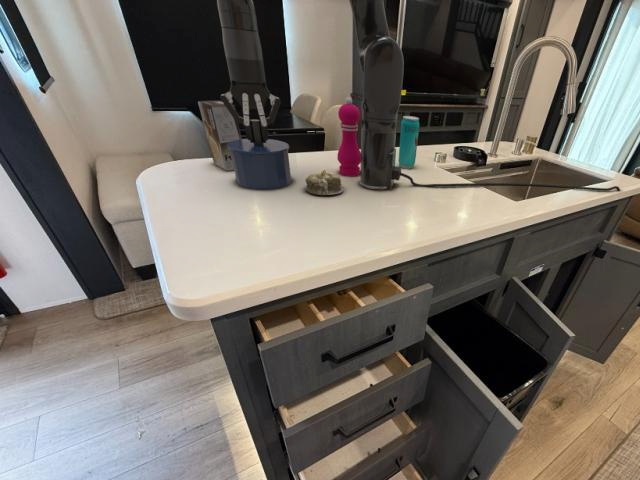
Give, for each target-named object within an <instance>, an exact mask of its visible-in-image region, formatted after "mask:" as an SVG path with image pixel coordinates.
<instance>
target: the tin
mask: <svg viewBox="0 0 640 480" xmlns="http://www.w3.org/2000/svg"><path fill="white" fill-rule="evenodd" d="M230 153H231V157H232V162H233V167H234V170H233V171H234V175H235V179H236V182H237V184H238V185H239V186H240V187H243V188H244V189H249V190H255V191H256V190H257V191H269V190H277V189H282V188H285V187H288V186H290V185H291V184H292V175H291V164H290V156H289V149H288V150H287V151H284V152H281V153H275V154H246V153H239V152H235V151H232V150H230Z"/></svg>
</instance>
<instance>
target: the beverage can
mask: <svg viewBox="0 0 640 480" xmlns="http://www.w3.org/2000/svg"><path fill="white" fill-rule="evenodd" d="M419 131H420V118H419V117H417V116H412V115H411V116H410V115H403V116H402V120H401V124H400V136H399V149H398V165H399V167H401V169H404V170H405V169H406V170H411V169H413V168H414V166H415V164H416V159H417V149H418V139H419Z"/></svg>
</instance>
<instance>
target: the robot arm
mask: <svg viewBox="0 0 640 480" xmlns="http://www.w3.org/2000/svg"><path fill="white" fill-rule="evenodd" d="M348 1H349V4H350V8H351V12H352V18H353V22H354V29H355V35H356V42H357V43H356V44H357V51H358V59H359V65H360V69H361V71H362V73H363V96H362V101H361V105H360V152H361V163H360V174H359V178H360V180H359V185H360V186H362V187H364V188H366V189H370V190H374V191H375V190H377V191H378V190H379V191H381V190H391V191H392V188H393V186H394V184H395V181H400V179H401V177H403V178H406V179H407V180H409V181H410V184H411V185H412V186H414V187H419V188H442V187H443V188H444V187H446V188H448V187H449V188H451V187H496V186H497V187H507V186H508V187H536V188H538V187H539V188H555V189H569V190H570V189H572V190H587V191H599V192H600V191H601V192H607V191H608V192H609V191H613V190H616V191H617V192H621V189H620V186H617V185H615V186H612V187H605V188H604V187H603V188H602V187H591V186H576V185H575V186H574V185H558V184H544V183H522V182H521V183H518V182H517V183H515V182H475V183H474V182H469V183H467V182H466V183H430V184H429V183H428V184H419V183H416V182H415V181H414V179H413V177H412V176H411V175H408V174H406V173H403V172H402V168H401V167H400V166H396V155H397V148H396V143H397V142H396V140H397V127H398V126H397V125H398V113H399V109H400V105H401V101H402V91H403V82H404V70H405V69H404V68H405V61H404V60H405V59H404V53H403V51H402V50H403V49H402V48H401V46H400V44H399V43H398V42H397V41H396V40H395V39H393V38H392V37H391V34H390V31H389V30H390V29H389V26H388V22H387V16H386V11H385V4H384V0H348ZM216 5H217V10H218V15H219V20H220V21H219V22H220V26H221V33H222V34H221V35H222V43H223V49H224V55H225V59H226V64H227V69H228V75H229V80H230V87H229V91H227V92H225V93H221V94H220V101H222V102H223V103H224V105H225V106H226V108H227V109H228V111H229V112H230V114H231V115H232V117H233V118H234V119H235V121H236V122H237V123H238V124H241V125H242V126H243V127H244V131H245V137H246V139H248V140H250V142H251V143H253V137H252V131H251V126H250V111H252V110H255V111H257V113H258V116H259V120H260V123H261V131H262V137H263V143H266V140H268V139H270V138H269V132H268V126H269V125H274V124H275V121H276V118H277V116H278V112H279V111H280V110H279V109H280V106H281V104H282V100H281V99H280V97H278V96H275V95H273V94H272V93H271V91H270V90H269V89H268V85H267V80H266V79H267V78H266V72H265V64H264V56H263V49H262V44H261V39H260V36H259V29H258V22H257V15H256V9H255V5H254V1H253V0H216ZM233 98H234V99H235V101H236V102H237V103H238V104H239V105H240V106H241V108H242V116H240V115H239V113H238V112H237V109H236V110H235V109H234V107H233V106H232V105H233V103H234V102H233ZM268 100H270V101H269V103H270V105H271V109H270V111H269V115H268V117H266V113H265V111H264V108H265V106H266V104H267V103H268Z"/></svg>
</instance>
